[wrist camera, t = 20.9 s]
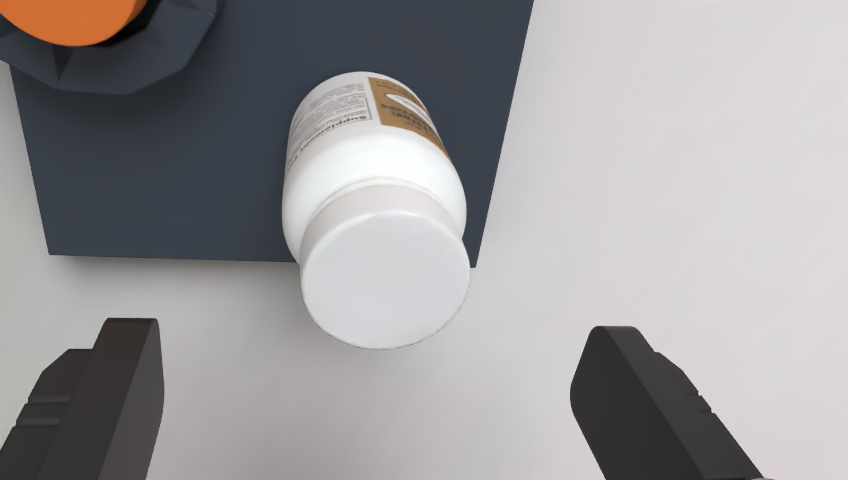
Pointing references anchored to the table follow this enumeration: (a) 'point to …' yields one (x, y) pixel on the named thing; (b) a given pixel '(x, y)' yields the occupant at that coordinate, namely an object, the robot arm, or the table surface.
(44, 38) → the button
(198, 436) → the table surface
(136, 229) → the grey button base
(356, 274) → the pill bottle
